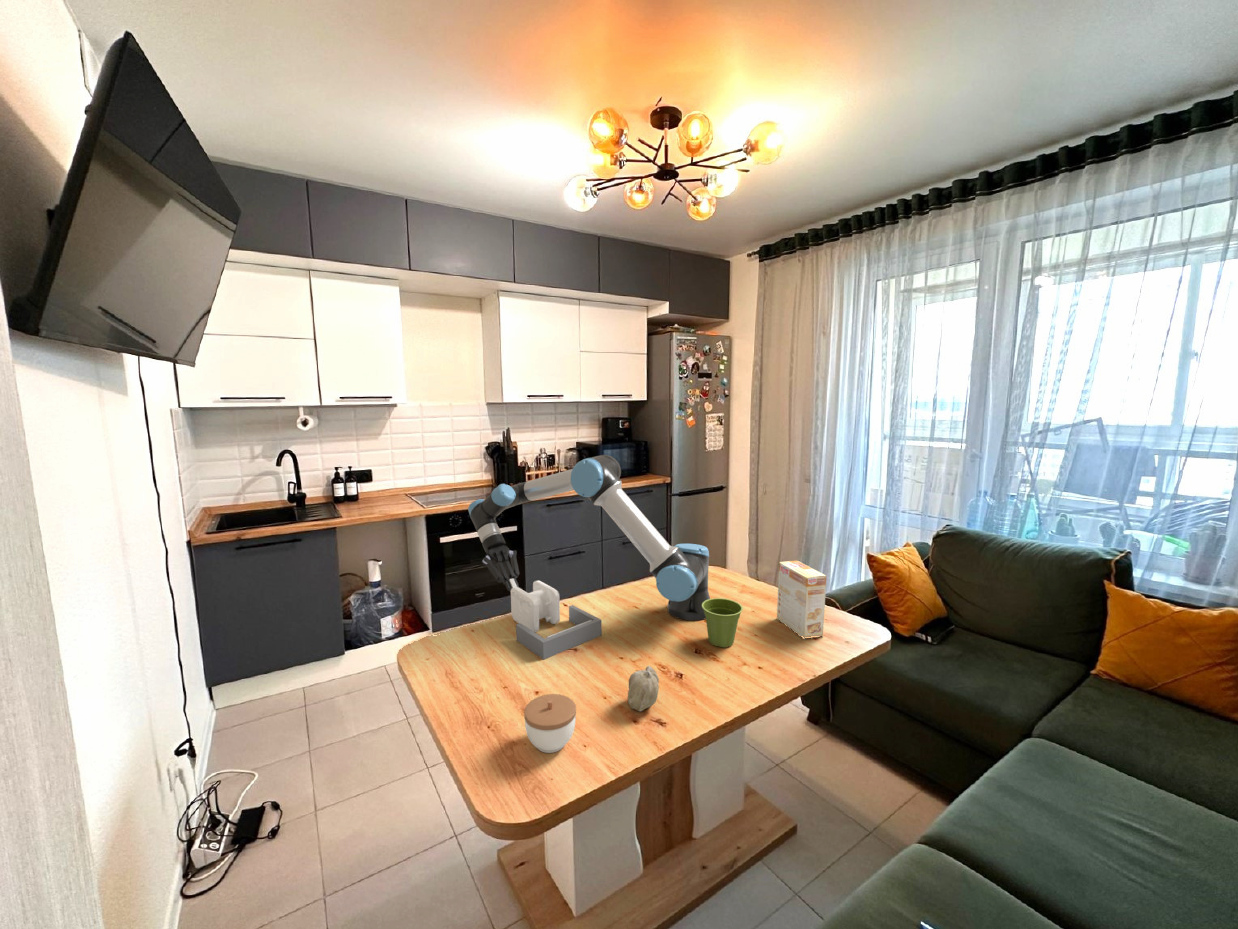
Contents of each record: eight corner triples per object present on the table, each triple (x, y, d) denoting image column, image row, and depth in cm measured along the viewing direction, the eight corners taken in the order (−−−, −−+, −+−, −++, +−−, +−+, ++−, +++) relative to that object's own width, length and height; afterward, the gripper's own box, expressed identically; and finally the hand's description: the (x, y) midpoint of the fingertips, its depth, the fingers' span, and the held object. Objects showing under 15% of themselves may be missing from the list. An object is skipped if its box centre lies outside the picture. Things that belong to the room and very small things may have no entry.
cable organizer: (562, 626, 156) (561, 591, 155) (532, 637, 150) (531, 600, 148) (537, 611, 168) (537, 578, 166) (509, 620, 161) (508, 586, 159)
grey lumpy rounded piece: (645, 703, 121) (652, 661, 123) (666, 716, 114) (673, 671, 115) (613, 703, 116) (620, 659, 118) (633, 717, 109) (640, 670, 111)
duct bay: (601, 635, 151) (601, 619, 150) (543, 659, 137) (543, 642, 136) (572, 619, 161) (572, 605, 161) (516, 640, 147) (516, 624, 147)
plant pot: (693, 642, 146) (693, 606, 145) (715, 629, 155) (716, 594, 153) (727, 656, 138) (728, 618, 137) (749, 642, 147) (750, 605, 145)
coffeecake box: (823, 637, 149) (827, 575, 147) (803, 640, 148) (806, 577, 145) (794, 616, 164) (797, 559, 161) (775, 618, 162) (778, 561, 159)
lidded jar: (539, 722, 110) (538, 683, 109) (583, 731, 107) (583, 691, 106) (515, 755, 100) (514, 712, 99) (564, 766, 97) (563, 722, 96)
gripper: (504, 541, 182) (530, 597, 172) (471, 548, 174) (496, 608, 164) (511, 529, 178) (538, 587, 168) (478, 536, 169) (503, 597, 159)
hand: (517, 597), depth 166 cm, fingers closed
